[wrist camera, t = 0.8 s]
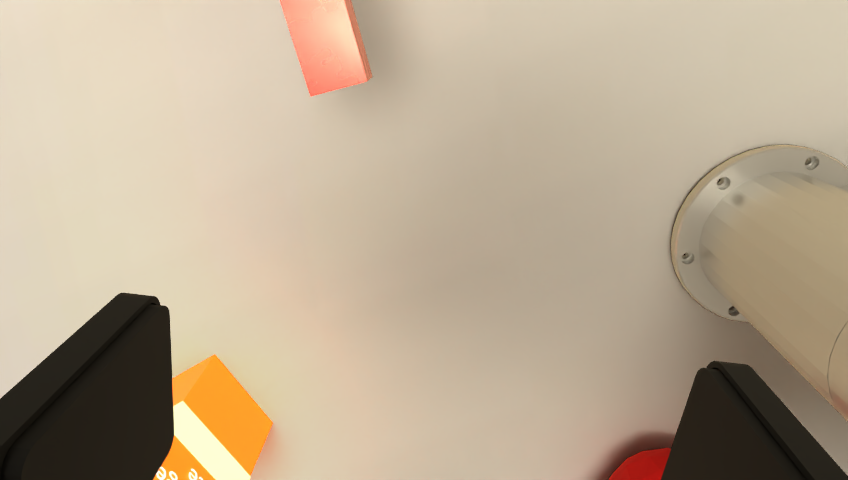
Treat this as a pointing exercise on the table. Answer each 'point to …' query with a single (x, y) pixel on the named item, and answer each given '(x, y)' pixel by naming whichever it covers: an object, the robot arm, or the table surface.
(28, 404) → the robot arm
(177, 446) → the orange juice
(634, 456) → the tomato
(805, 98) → the table surface
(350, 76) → the lever
